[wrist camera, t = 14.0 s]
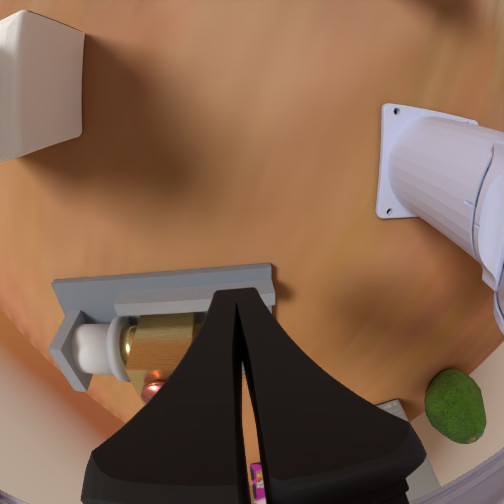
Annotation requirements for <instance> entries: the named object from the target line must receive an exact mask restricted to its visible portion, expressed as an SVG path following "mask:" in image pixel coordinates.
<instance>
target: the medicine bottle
mask: <svg viewBox="0 0 504 504" xmlns="http://www.w3.org/2000/svg"><path fill="white" fill-rule="evenodd" d="M84 38H85V35H84V33H83V32H82V31H80V30H78V29H75V28H73V27H70V26H68V25H66V24H63V23H61V22H58V21H56V20H53V19H50V18H48V17H45V16H42V15H40V14H37V13H34V12H31V11H28V10H21V11H19V12H17V13H15V14H13V15H11V16H9V17H7V18H5V19H3V20H1V21H0V162H2V161H6V160H10V159H15V158H19V157H21V156H24V155H26V154H29V153H32V152H34V151H37V150H40V149H43V148H46V147H48V146H51V145H54V144H57V143H60V142H64V141H67V140H70V139H73V138H77V137H79V136H80V135H81V134H82V65H83V50H84Z"/></svg>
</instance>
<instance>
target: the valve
mask: <svg viewBox="0 0 504 504" xmlns="http://www.w3.org/2000/svg"><path fill="white" fill-rule="evenodd" d="M201 324H202V322H198V320H197V315H196V312H187V313H170V314H151V315H140V319H139V322H138V325H129V326H124V327H123V328H122V330H121V333H120V338H119V348H120V354H121V358H122V361H123V363H124V365H125V366H126V368H125V371H126V373H127V374H128V376H129V378H130V380H131V382H132V384H133V386H134V388H135V390H136V391H137V393H138V395H139V397H140V399H141V400H142V402H143V404H144V405H146V404H147V403H148V402H149V400H150V399H151V398H152V397H153V396H154V395H155V394H156V392H157V391H158V390H159V389H160V388H161V386H162V385H163V384H164V383H165V381H166V380H167V379H168V378H169V376H170V375H171V374H172V372H173V371H174V370H175V368H176V367H177V365H178V364H179V362H180V361H181V359H182V358H183V356H184V355H185V353H186V351H187V350H188V348H189V346H190V345H191V343H192V341H193V339H194V338H195V336H196V334H197V332H198V330H199V328H200V326H201Z"/></svg>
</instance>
